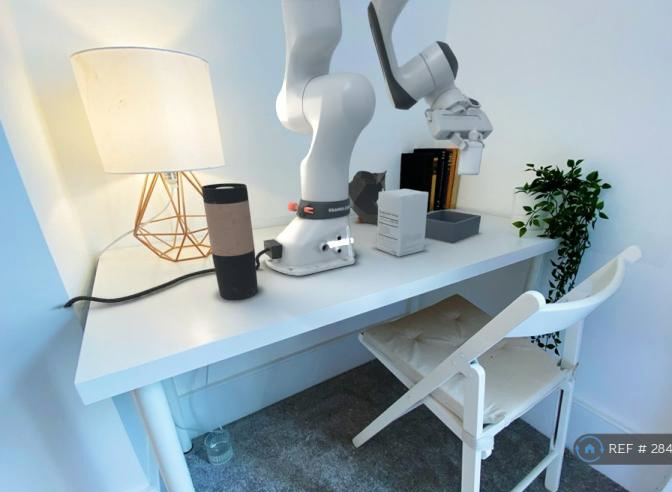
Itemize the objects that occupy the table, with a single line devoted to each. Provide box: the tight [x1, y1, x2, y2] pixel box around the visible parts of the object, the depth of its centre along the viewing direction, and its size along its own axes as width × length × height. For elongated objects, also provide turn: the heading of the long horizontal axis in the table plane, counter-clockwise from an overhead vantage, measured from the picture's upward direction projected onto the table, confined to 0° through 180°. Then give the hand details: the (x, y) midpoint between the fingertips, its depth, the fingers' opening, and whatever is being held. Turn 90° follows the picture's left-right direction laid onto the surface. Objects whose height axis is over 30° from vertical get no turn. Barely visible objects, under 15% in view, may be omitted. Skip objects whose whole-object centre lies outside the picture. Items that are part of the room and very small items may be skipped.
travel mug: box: [201, 182, 259, 301], centre depth 62 cm, size 8×8×20 cm
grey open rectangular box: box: [425, 209, 482, 244], centre depth 103 cm, size 15×13×5 cm
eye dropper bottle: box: [457, 127, 484, 176], centre depth 91 cm, size 4×6×12 cm
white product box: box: [376, 188, 429, 258], centre depth 87 cm, size 9×9×15 cm
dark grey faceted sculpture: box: [348, 169, 388, 226], centre depth 115 cm, size 14×15×18 cm
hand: (473, 148), depth 91 cm, fingers closed on eye dropper bottle, 5 cm apart
